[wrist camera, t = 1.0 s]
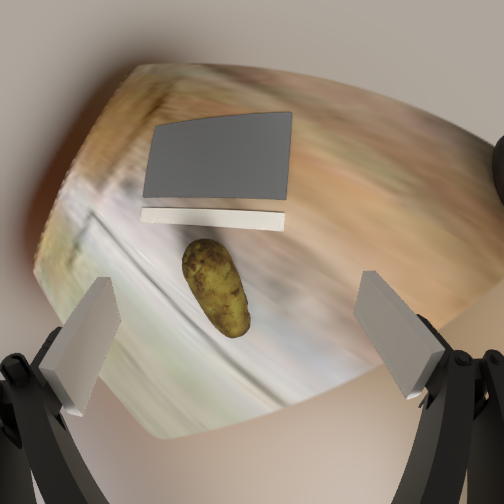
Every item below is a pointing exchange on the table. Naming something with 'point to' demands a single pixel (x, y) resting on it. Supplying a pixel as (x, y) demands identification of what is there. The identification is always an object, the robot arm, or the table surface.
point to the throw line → (215, 218)
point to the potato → (216, 286)
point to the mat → (221, 157)
